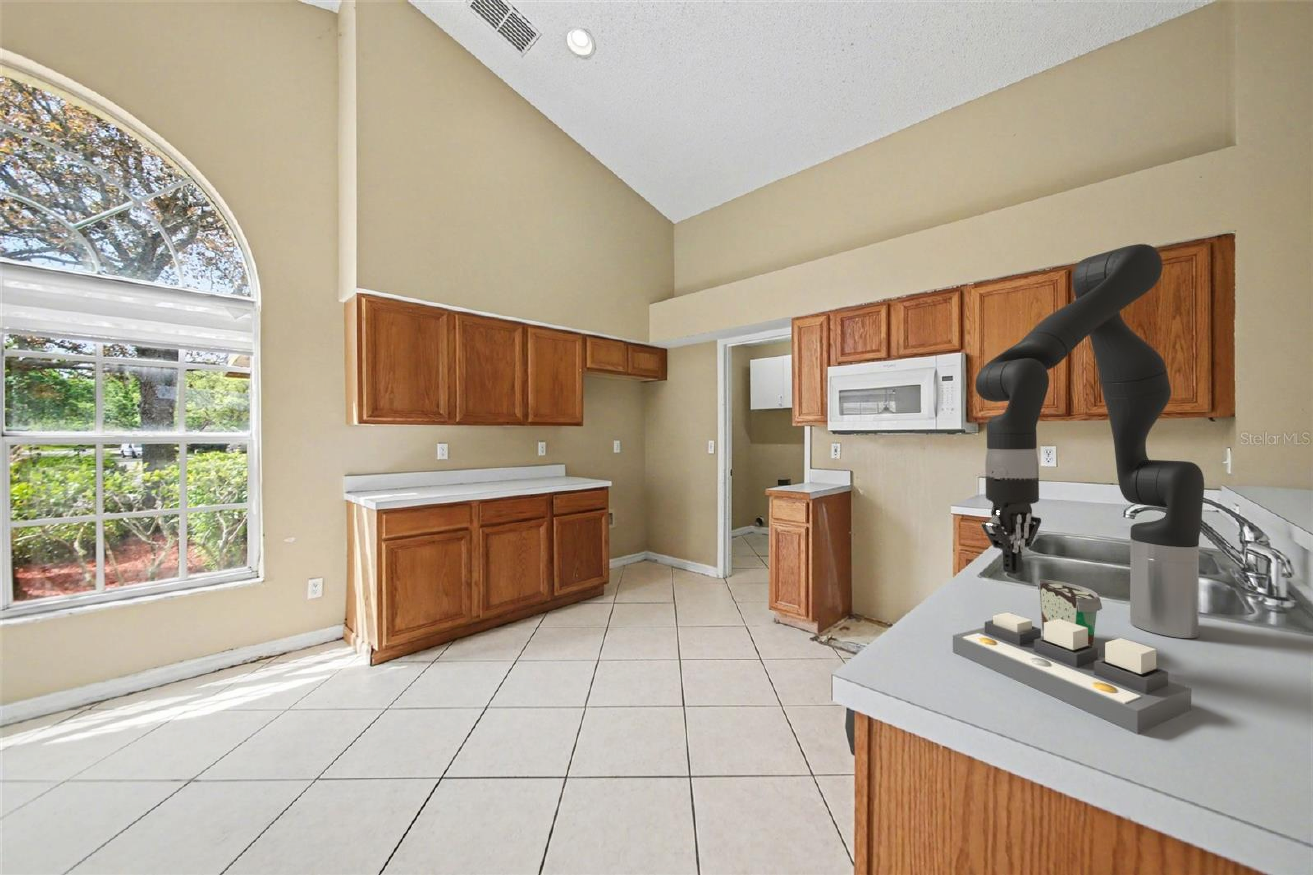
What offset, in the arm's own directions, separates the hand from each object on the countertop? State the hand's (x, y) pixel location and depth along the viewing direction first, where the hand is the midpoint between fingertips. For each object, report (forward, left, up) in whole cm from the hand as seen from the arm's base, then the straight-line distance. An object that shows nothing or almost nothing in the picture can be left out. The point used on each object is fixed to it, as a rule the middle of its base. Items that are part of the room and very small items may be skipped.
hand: (1012, 572), depth 84 cm
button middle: (0, +8, -9) cm, 12 cm away
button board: (+2, +8, -14) cm, 17 cm away
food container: (-15, +2, -15) cm, 21 cm away
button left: (0, 0, -11) cm, 11 cm away
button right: (0, +16, -9) cm, 19 cm away
